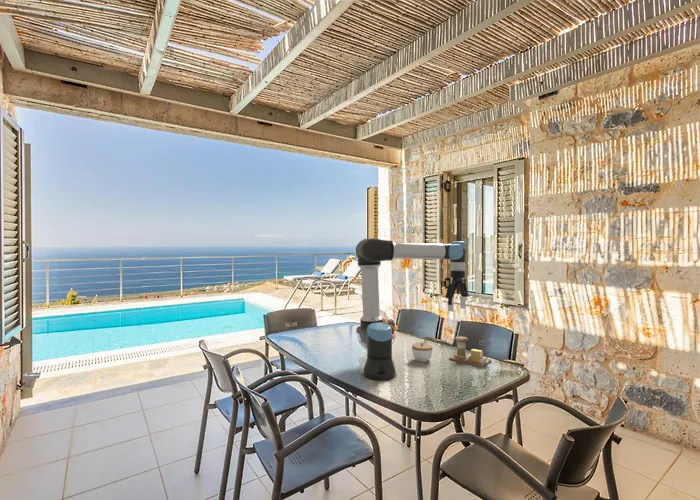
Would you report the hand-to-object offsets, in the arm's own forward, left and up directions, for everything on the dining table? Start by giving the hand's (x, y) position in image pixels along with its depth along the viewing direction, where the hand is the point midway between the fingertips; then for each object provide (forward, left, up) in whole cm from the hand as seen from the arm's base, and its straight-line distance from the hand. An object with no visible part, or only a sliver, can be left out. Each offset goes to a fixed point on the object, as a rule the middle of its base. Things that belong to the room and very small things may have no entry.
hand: (456, 309), depth 189 cm
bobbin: (+4, 0, -27) cm, 27 cm away
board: (+4, -5, -27) cm, 28 cm away
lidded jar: (-12, +14, -27) cm, 33 cm away
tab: (+2, -10, -26) cm, 28 cm away
